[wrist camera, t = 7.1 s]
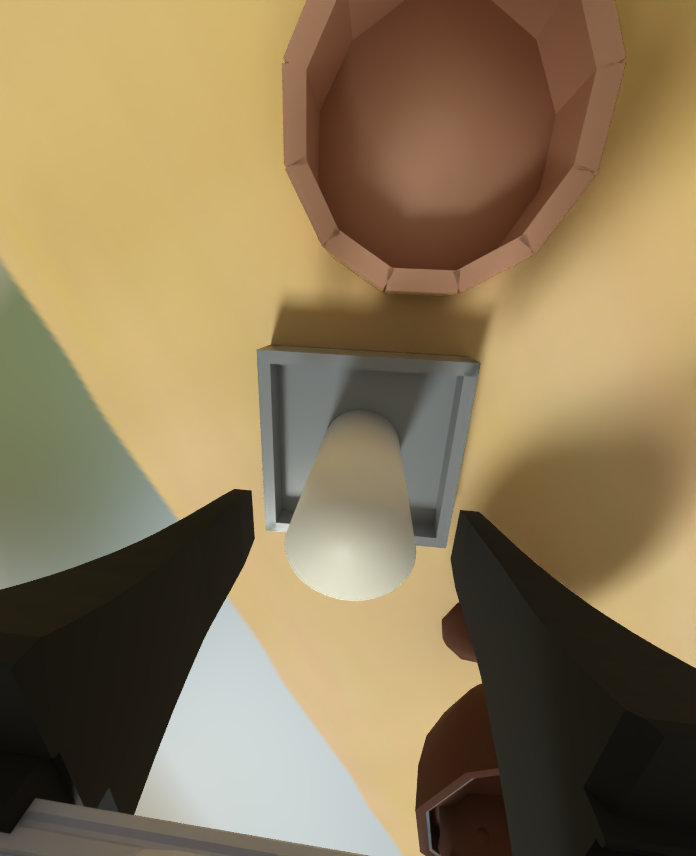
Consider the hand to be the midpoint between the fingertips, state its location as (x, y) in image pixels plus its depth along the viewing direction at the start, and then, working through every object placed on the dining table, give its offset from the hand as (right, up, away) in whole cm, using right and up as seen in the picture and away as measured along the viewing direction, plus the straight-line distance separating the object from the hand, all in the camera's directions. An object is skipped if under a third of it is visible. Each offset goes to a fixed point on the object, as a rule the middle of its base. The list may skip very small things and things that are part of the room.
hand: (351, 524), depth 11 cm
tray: (+1, +3, +7) cm, 7 cm away
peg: (+1, +2, +6) cm, 7 cm away
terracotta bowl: (+3, +15, +2) cm, 15 cm away
